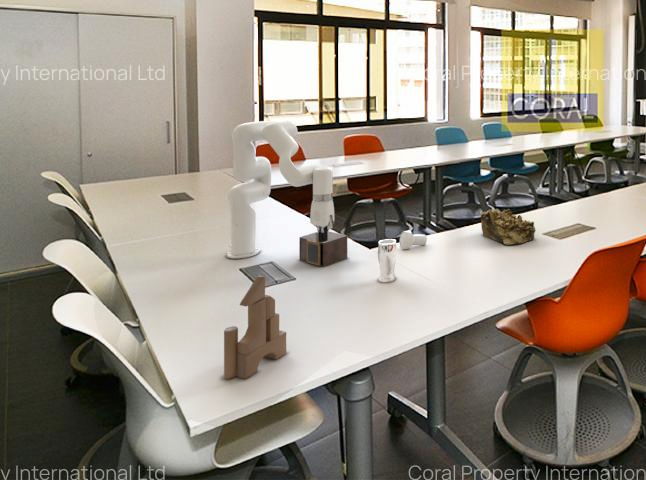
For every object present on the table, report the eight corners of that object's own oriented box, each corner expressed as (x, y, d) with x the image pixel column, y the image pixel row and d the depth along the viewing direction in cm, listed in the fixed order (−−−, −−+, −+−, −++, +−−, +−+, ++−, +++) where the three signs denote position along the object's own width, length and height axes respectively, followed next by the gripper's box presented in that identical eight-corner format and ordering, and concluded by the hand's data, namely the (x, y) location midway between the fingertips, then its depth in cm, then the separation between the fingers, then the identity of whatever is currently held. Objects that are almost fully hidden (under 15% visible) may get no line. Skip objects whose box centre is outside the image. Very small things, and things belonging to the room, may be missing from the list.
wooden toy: (268, 349, 156) (268, 265, 156) (286, 353, 154) (286, 267, 154) (221, 378, 141) (221, 284, 141) (240, 382, 139) (240, 288, 139)
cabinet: (323, 267, 222) (323, 243, 222) (299, 260, 230) (299, 237, 230) (347, 258, 232) (347, 235, 232) (323, 252, 240) (323, 230, 240)
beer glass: (400, 277, 211) (400, 240, 211) (389, 284, 205) (389, 245, 204) (385, 275, 213) (385, 238, 213) (374, 281, 207) (374, 243, 207)
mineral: (544, 235, 267) (544, 205, 267) (514, 248, 246) (515, 216, 246) (501, 226, 282) (501, 198, 282) (470, 238, 261) (470, 208, 261)
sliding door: (318, 266, 222) (318, 233, 221) (306, 262, 226) (306, 230, 225) (320, 265, 222) (320, 232, 222) (308, 261, 226) (308, 229, 226)
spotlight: (396, 244, 247) (401, 228, 247) (418, 244, 254) (423, 228, 254) (403, 252, 241) (408, 235, 241) (425, 252, 248) (430, 235, 248)
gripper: (303, 197, 221) (303, 241, 221) (326, 201, 214) (327, 246, 214) (319, 193, 228) (319, 236, 228) (342, 197, 220) (342, 241, 220)
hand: (323, 241), depth 221 cm, fingers closed
